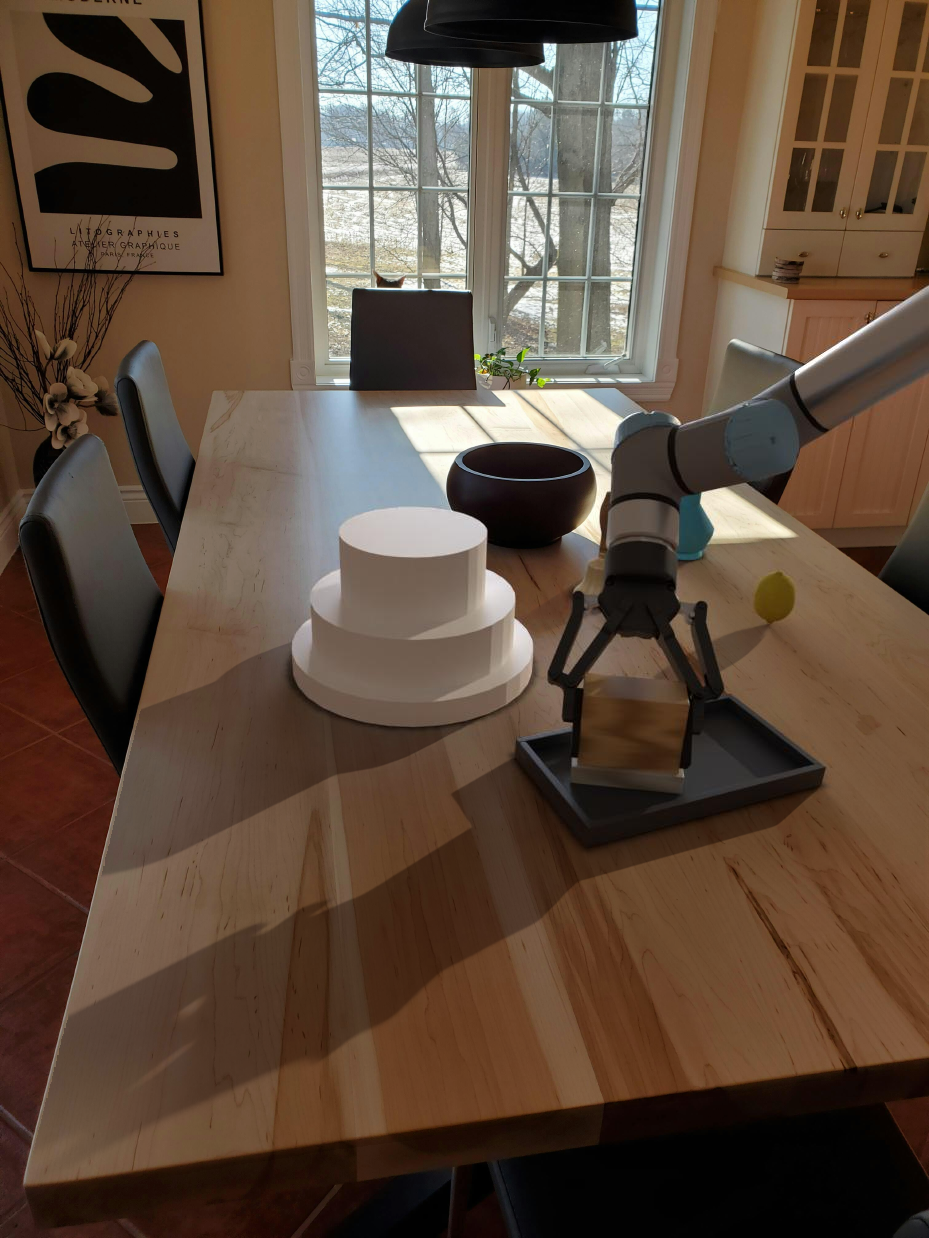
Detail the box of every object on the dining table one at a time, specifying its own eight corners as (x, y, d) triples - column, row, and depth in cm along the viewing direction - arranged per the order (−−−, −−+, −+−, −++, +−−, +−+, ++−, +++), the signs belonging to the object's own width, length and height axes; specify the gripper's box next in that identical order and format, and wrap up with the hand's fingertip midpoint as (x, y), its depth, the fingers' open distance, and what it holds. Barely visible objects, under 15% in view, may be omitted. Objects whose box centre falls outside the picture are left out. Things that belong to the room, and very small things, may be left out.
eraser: (677, 762, 94) (690, 679, 90) (681, 794, 89) (695, 708, 85) (571, 752, 95) (579, 669, 91) (570, 782, 90) (578, 697, 86)
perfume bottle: (675, 566, 145) (688, 476, 138) (643, 546, 152) (653, 460, 146) (721, 558, 148) (736, 470, 142) (687, 540, 156) (699, 455, 149)
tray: (821, 785, 92) (826, 766, 91) (586, 848, 83) (588, 828, 82) (727, 709, 105) (730, 692, 104) (514, 756, 96) (515, 738, 95)
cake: (548, 724, 101) (560, 580, 93) (279, 728, 99) (268, 581, 91) (516, 610, 128) (523, 491, 120) (304, 612, 126) (297, 490, 118)
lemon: (778, 613, 130) (788, 562, 126) (797, 631, 125) (808, 578, 121) (742, 615, 129) (751, 564, 125) (760, 633, 124) (770, 580, 120)
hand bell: (563, 588, 136) (572, 486, 129) (613, 582, 138) (624, 482, 131) (587, 610, 129) (597, 504, 122) (638, 604, 131) (651, 500, 124)
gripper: (743, 574, 97) (739, 779, 90) (534, 558, 100) (514, 756, 93) (759, 545, 90) (756, 765, 83) (534, 529, 93) (512, 741, 85)
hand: (629, 760), depth 88 cm, fingers closed on eraser, 10 cm apart
